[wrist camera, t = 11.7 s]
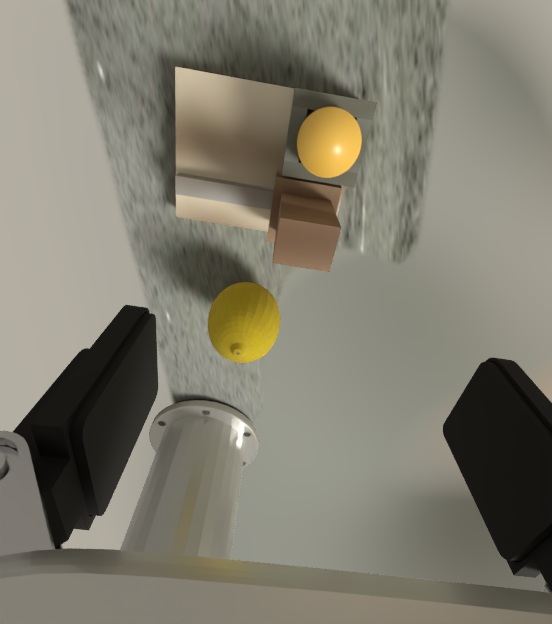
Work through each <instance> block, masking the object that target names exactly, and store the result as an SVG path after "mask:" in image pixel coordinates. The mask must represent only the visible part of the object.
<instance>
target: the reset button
mask: <svg viewBox="0 0 552 624" xmlns="http://www.w3.org/2000/svg"><path fill="white" fill-rule="evenodd" d="M361 142H362V137H361V131H360V127H359V125H358V123H357V121H356V120H355V118H354V117H353V116H352V115H351V114H350V113H349V112H347V111H345V110H343V109H341V108H337V107H331V106H329V107H322V108H319V109H317V110H315V111H314V112H312V113H311V114H310V115H309V116H308V117H307V118H306V119H305V120H304V122H303V123H302V125H301V127H300V129H299V132H298V136H297V149H298V155H299V158H300V160H301V162H302V164H303V166H304V167H305V168H306V169H307V170H308V171H309V172H310V173H312V174H314V175H316V176H318V177H322V178H331V177H336V176H339V175H341V174H343V173H344V172H346V171H347V170H348V169H349V168H350V167H351V166H352V165H353V164H354V162H355V161H356V159H357V157H358V155H359V152H360V149H361Z"/></svg>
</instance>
